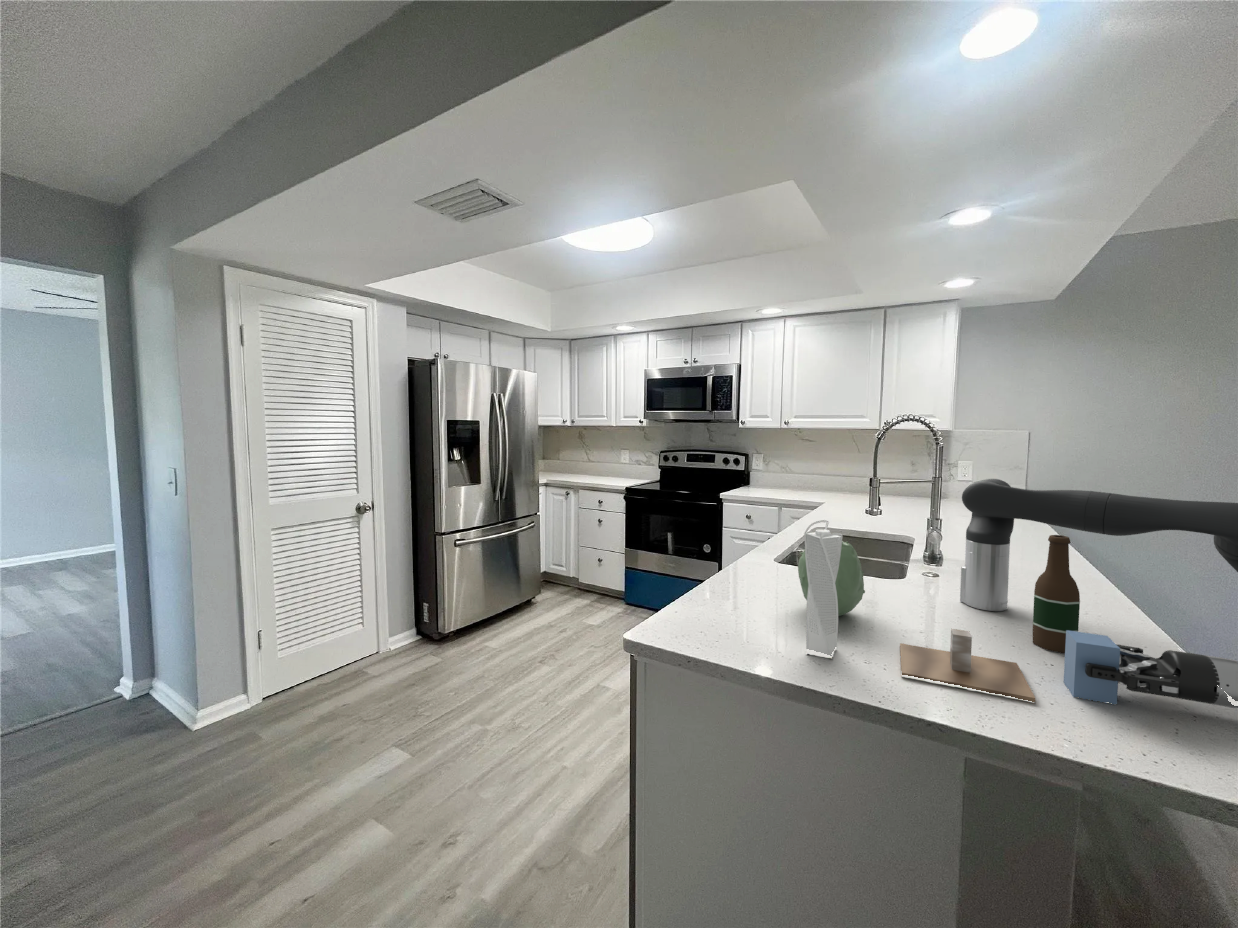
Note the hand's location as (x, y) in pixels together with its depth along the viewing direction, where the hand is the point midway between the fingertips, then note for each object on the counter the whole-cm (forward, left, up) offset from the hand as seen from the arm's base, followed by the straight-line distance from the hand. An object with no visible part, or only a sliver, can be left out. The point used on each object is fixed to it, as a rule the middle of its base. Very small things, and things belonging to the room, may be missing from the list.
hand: (1077, 658), depth 88 cm
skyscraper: (-33, -27, -6) cm, 43 cm away
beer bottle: (-11, +18, -6) cm, 22 cm away
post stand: (-14, -11, -6) cm, 18 cm away
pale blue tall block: (+1, +1, -6) cm, 6 cm away
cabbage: (-47, -8, -6) cm, 48 cm away
